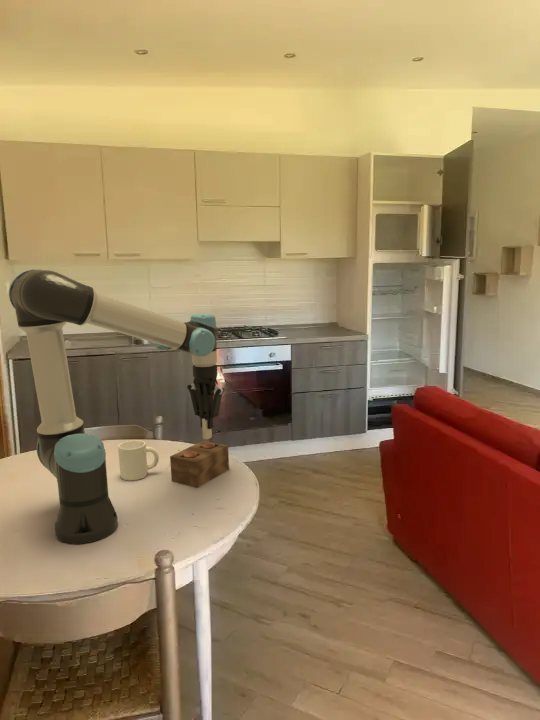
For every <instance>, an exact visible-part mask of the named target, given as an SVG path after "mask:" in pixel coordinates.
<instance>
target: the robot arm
mask: <svg viewBox="0 0 540 720" xmlns="http://www.w3.org/2000/svg"><path fill="white" fill-rule="evenodd" d="M8 288H9V289H8V296H9V297H8V298H9V301H10V304H11V305H12V307H13V309H14V310H15V315H16V321H17V326H18V328H19V329H21V330H22V331H24V332H25V335H26V338H27V345H28V346H27V347H28V350H29V351H28V352H29V356H30V361H31V363H30V364H31V367H32V369H31V370H32V374H33V379H34V385H35V391H36V397H37V403H38V409H39V413H40V414H39V415H40V419H41V423H40V424H39V425H38V426H37V428H36V433H37V442H36V454H37V458H38V460H39V462H40V463H41V464H42V466H43V467H44V468H46V469H47V470H48V471H49V472H50V473H51V474H52V475H53V477H55V478H56V483H57V492H58V499H59V501H58V502H59V507H58V510H57V516H56V520H55V523H54V534H55V538H56V539H57V540H58V541H60V542H62V543H65V544H73V545H74V544H75V545H76V544H87V543H92V542H96V541H99V540H102V539H104V538H106V537H108V536H110V535H111V534H113V533H114V532H115V531H116V530H117V529H118V527H119V526H118V525H119V521H118V519H119V518H118V514H117V512H116V510H115V507H114V506H113V503H112V501H111V498H110V496H109V488H108V487H109V484H108V474H107V460H106V456H107V453H106V449H105V445H104V442H103V440H102V439H101V438H100V437H99V436H97V435H94V434H88V433H86V432H85V431H86V430H85V426H84V420H83V419H81V418H80V417H78V416H77V414H76V413H77V412H76V407H75V401H74V395H73V388H72V381H71V376H70V370H69V363H68V357H67V352H66V351H67V349H66V343H65V338H64V333H63V332H64V330H63V327H64V326H65V325H66V323H71V324H74V325H77V326H83V325H86V324H88V325H93V326H96V327H99V328H103V329H104V330H105V329H106V330H109V331H113V332H117V333H120V334H123V335H125V336H126V335H127V336H130V337H133V338H136V339H139V340H143V341H147V342H150V343H153V345H154V347H155V348H156V350H158V351H169V350H175V351H178V352H182V353H187V354H190V355H191V361H192V363H191V364H193V365H192V377H193V382H192V383H191V384H188V385H187V386H186V387H187V390H188V391H189V394H190V398H191V403H192V408H193V411H194V413H193V414H194V415H195V416H198V417H199V419H200V420H199V421H200V428H202V440H205V441H208V440H209V439H211V438H212V437H213V436H212V435H213V434H212V433H213V430H212V429H213V428H214V419H215V418H216V417H219V413H220V408H221V403H222V397H223V393H224V392H225V388H224V387H221V386H219V383H218V380H217V378H218V365H217V363H218V353H217V351H218V350H217V321H216V316H215V315H214V314H213V313H194V314H191V316H190V319H189V321H185V322H183V321H180V320H177V319H174V318H171V317H170V316H169V317H168V316H165V315H162V314H159V313H156V312H153V311H151V310H148V309H144V308H141V307H138V306H135V305H133V304H129V303H126V302H123V301H120V300H118V299H114V298H113V297H109V296H105V295H102V294H100V293H97V292H96V290H95V288H94V287H92V286H90V285H86V284H84V283H81V282H79V281H77V280H74V279H72V278H71V277H68V276H66V275H64V274H62V273H59V272H58V271H54V270H48V269H46V270H45V269H44V270H43V269H33V268H32V269H28V270H25V271H23V272H21V273H19V274H17V275H16V276H15V277H14V279H13V280H12V281H11V283H10V285H9V287H8Z"/></svg>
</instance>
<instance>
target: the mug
mask: <svg viewBox="0 0 540 720" xmlns="http://www.w3.org/2000/svg"><path fill="white" fill-rule="evenodd" d="M146 444H147V443H146V442H145V441H144V440H140V439H138V440H137V439H136V440H135V439H133V440H131V439H130V440H127V441H123V442H121V443H118V445H117V448H118V451H117V452H118V460H119V461H118V462H119V472H120V474H119V475H120V477H121V479H123V480H125V481H128V482H129V481H138V480H142V479H143V478H145V477H146V476H147V475H148V471H149V470H153V469H155V467H156V466H157V465H158V464H159V459H160V457H159V453H158V451H157V449H155V448H154V447H151V446H147V445H146ZM149 452H150V453H152V454H153V457H154V458H153V459H154V460H153V462H152V463H151V464H148V461H147V460H148V459H147V453H149Z"/></svg>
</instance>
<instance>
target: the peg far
mask: <svg viewBox="0 0 540 720" xmlns="http://www.w3.org/2000/svg"><path fill="white" fill-rule="evenodd" d="M214 443H215V442H213V443H205V444H203V445H202V448H204V449H208V450H211V449H213V448H215V444H214Z"/></svg>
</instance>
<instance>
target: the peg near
mask: <svg viewBox="0 0 540 720" xmlns="http://www.w3.org/2000/svg"><path fill="white" fill-rule="evenodd" d="M195 457H197V453H196V452H186V453H184V458H188V459H193V458H195Z"/></svg>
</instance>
